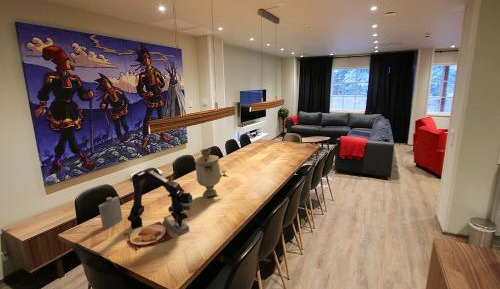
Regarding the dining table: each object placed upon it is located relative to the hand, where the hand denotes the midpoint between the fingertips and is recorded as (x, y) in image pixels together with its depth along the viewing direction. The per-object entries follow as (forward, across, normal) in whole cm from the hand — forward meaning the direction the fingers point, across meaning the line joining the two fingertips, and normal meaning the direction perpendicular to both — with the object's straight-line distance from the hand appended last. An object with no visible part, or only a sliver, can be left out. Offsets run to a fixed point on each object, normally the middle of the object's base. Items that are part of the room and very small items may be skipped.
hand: (179, 224), depth 174 cm
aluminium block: (+4, 0, 0) cm, 4 cm away
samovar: (+4, +33, -44) cm, 55 cm away
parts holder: (+4, +6, 0) cm, 7 cm away
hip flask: (+4, +38, +34) cm, 51 cm away
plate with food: (+4, +5, +19) cm, 21 cm away
